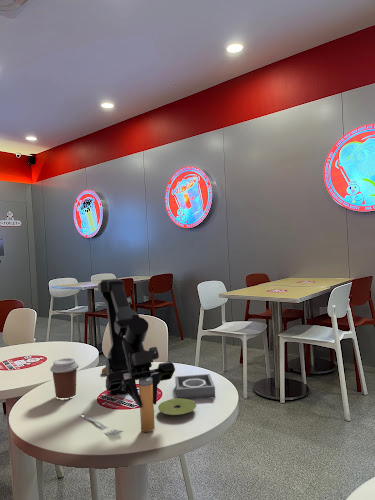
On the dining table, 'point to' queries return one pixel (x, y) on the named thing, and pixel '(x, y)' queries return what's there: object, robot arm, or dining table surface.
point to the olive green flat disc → (177, 406)
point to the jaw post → (146, 404)
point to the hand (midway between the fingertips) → (148, 405)
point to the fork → (102, 426)
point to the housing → (194, 386)
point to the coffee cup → (65, 377)
